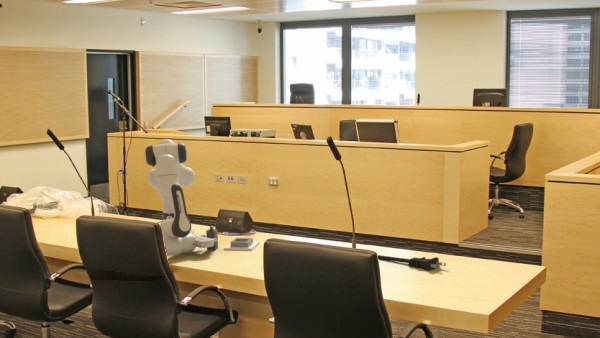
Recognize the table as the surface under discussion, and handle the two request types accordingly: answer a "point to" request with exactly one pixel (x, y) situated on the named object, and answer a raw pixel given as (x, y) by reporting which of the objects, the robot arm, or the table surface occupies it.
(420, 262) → the electrical plug
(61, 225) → the table surface
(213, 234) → the dark grey square bottle
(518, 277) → the table surface
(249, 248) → the socket
